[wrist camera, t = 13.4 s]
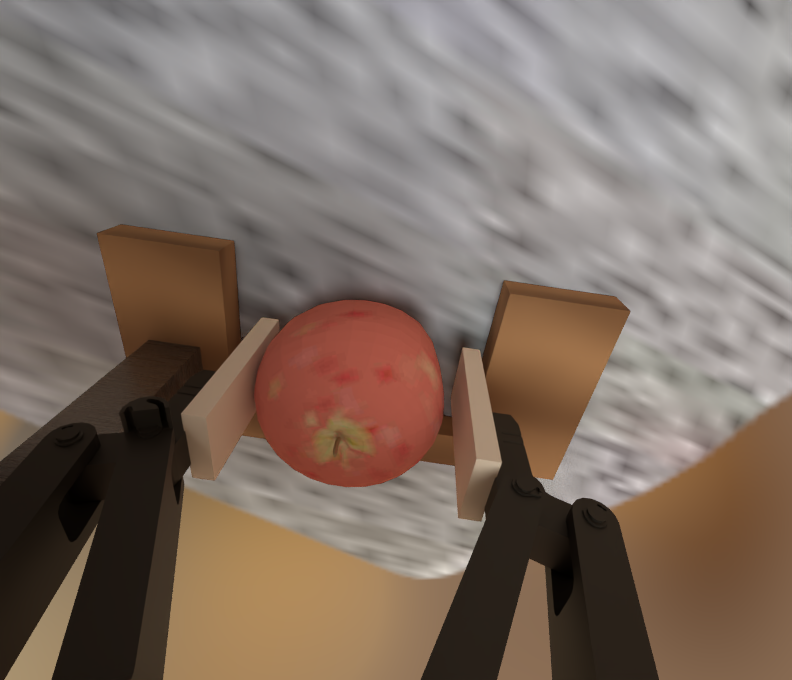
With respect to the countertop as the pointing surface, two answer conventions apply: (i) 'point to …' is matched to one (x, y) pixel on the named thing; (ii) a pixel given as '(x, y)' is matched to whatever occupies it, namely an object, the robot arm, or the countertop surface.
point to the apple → (350, 393)
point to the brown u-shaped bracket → (508, 392)
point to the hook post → (119, 393)
